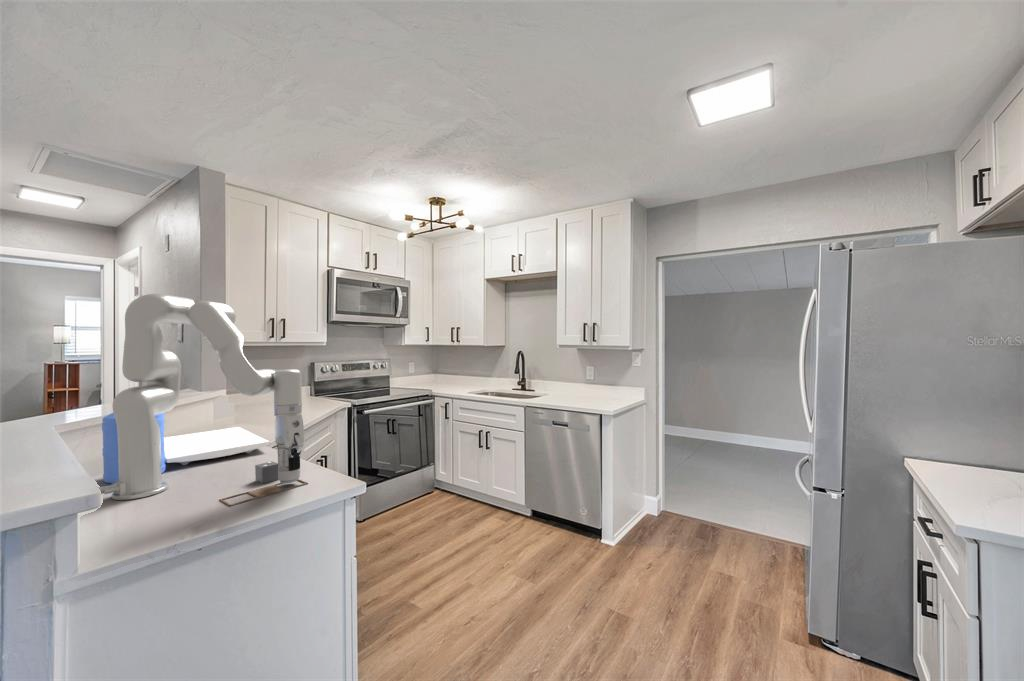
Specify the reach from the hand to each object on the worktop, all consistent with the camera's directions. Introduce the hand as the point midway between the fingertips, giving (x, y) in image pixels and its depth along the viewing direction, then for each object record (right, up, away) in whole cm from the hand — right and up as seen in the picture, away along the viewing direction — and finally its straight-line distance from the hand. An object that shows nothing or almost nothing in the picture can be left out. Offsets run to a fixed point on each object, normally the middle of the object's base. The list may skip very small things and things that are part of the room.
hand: (289, 467), depth 130 cm
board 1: (-56, -7, +43) cm, 71 cm away
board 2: (-4, -6, -6) cm, 9 cm away
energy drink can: (0, -4, 0) cm, 4 cm away
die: (-10, -6, +5) cm, 12 cm away
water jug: (-58, -7, +11) cm, 59 cm away
